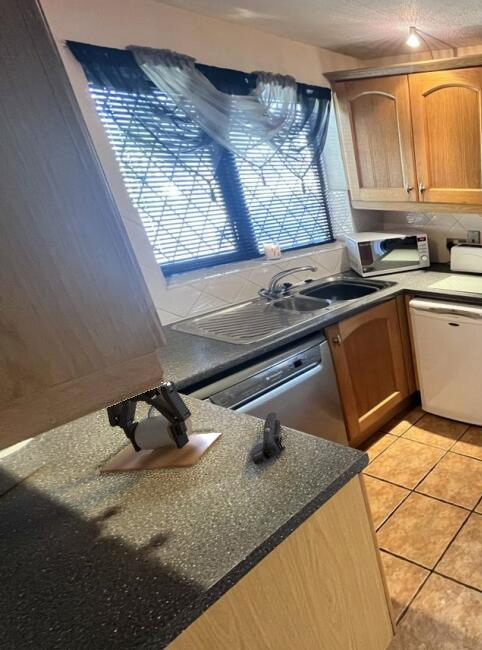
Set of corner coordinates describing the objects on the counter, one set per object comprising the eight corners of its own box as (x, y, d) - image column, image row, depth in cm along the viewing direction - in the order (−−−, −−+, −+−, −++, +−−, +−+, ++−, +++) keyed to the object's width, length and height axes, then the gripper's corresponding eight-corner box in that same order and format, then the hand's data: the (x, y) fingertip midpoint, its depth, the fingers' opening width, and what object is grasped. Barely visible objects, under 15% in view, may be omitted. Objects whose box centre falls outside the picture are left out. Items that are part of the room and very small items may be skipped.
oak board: (99, 472, 87) (98, 470, 86) (139, 440, 97) (138, 438, 97) (193, 465, 88) (192, 463, 88) (222, 434, 98) (221, 432, 98)
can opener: (286, 460, 89) (281, 440, 87) (251, 470, 86) (245, 450, 84) (291, 418, 104) (286, 401, 102) (261, 426, 101) (255, 408, 99)
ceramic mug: (199, 429, 98) (177, 450, 90) (167, 436, 97) (142, 456, 90) (180, 394, 94) (155, 412, 87) (146, 401, 94) (119, 420, 87)
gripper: (191, 352, 88) (219, 432, 96) (91, 358, 87) (128, 439, 95) (166, 368, 81) (199, 453, 89) (57, 375, 80) (100, 461, 88)
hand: (162, 446), depth 92 cm, fingers closed on ceramic mug, 9 cm apart
